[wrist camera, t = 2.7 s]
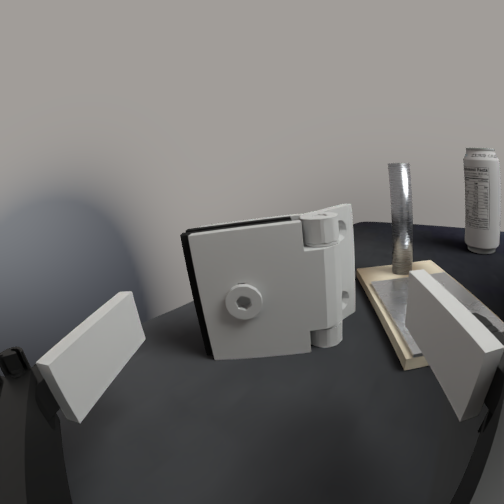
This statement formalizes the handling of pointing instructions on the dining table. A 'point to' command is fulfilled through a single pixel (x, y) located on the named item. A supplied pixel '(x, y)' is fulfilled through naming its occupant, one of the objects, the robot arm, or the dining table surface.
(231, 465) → the dining table surface
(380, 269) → the mounting board
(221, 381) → the dining table surface
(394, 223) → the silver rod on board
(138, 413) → the dining table surface
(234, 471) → the dining table surface
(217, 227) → the hinge
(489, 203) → the energy drink can
